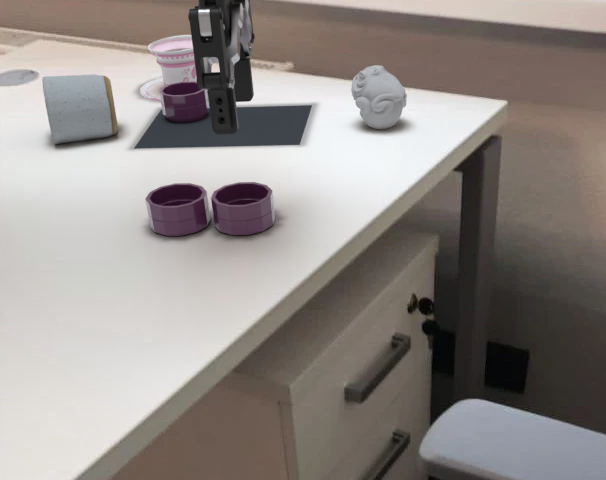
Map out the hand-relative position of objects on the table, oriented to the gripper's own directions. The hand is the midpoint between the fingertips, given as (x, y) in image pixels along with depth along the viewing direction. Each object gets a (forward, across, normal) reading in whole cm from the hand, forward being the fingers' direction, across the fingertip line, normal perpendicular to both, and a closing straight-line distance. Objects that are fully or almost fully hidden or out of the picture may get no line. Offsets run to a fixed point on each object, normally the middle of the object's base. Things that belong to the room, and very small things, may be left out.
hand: (234, 116), depth 80 cm
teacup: (+11, -44, -16) cm, 48 cm away
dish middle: (+11, 0, -7) cm, 13 cm away
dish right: (+11, 0, 0) cm, 11 cm away
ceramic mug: (+11, -27, -25) cm, 39 cm away
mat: (+11, -28, -7) cm, 31 cm away
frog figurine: (+11, -27, +12) cm, 31 cm away
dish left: (+10, -32, -13) cm, 36 cm away
